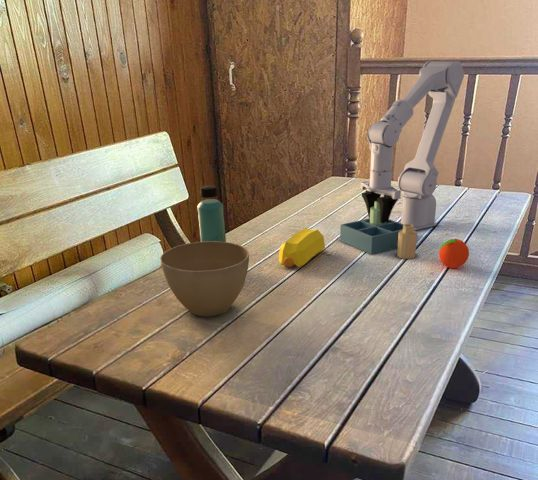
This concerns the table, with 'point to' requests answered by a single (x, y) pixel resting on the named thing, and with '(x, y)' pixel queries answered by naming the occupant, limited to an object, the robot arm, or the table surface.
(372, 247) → the carrier
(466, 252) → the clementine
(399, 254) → the cream bottle
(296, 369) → the table surface
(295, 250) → the yellow faceted toy car
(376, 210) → the mint bottle
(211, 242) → the brown bowl
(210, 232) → the beverage bottle
